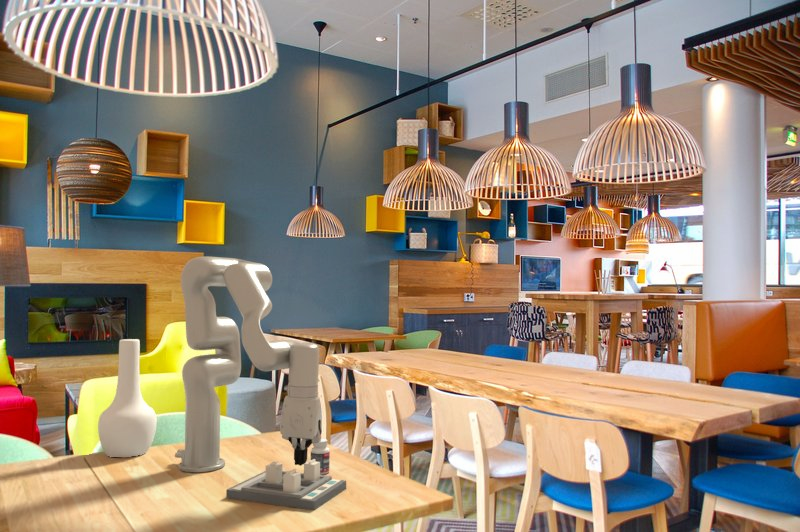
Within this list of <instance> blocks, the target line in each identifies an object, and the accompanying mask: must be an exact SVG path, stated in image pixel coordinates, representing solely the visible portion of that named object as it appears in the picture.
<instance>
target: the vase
mask: <svg viewBox="0 0 800 532" xmlns="http://www.w3.org/2000/svg"><path fill="white" fill-rule="evenodd" d="M140 348H141V344H140V339H138V338H135V339H134V338H133V339H132V338H127V339H126V338H125V339H120V340H119V342H118V371H117V373H118V374H117V385H116V390H115V396H114V398H113V400H112V402H111V403H110V404H109V406H108V407H107V408H106V409H105V410H103V411H102V412H101V414H100V415H99V418H98V421H97V422H98V423H97V431H98V432H97V433H98V437H99V439H98V440H99V442H100V445H101V448H102V450H103V452H104V453H105V455H106V456H107V457H108V456H111V457H130V458H132V457H131V456H136V457H139V456H138V455H140V456H142V455H141V454H143V455H145V454H147V453H148V451H149V450H150V448H151V446H152V444H153V442H154V439H155V435H156V432H157V425H158V422H157V421H158V418H157V414H156V412H155V410H154V408H152V406H149V405H148V404H147V402H146V401H145V400H144V398H143V395H142V392H141V390H142V389H141V380H140V376H141V375H140V356H141V355H140V353H141V349H140ZM146 452H147V453H146ZM144 453H145V454H144ZM111 457H110V458H111Z"/></svg>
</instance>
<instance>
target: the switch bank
mask: <svg viewBox="0 0 800 532" xmlns="http://www.w3.org/2000/svg"><path fill="white" fill-rule="evenodd" d="M289 471H290V470H289ZM289 471H287V470H282V482H281V483H271V482H265V476H266V470H264V471H262V472H260V473H258V474H255V475H254V476H252V477H250V478H248V479H245V480H244V481H241V482H240V483H238V484H235V485H233V486H231V487H229V488H227V489H226V491H225V492H226V493H225V496H226V499H233V500H237V501H245V502H253V503H261V504H267V505H275V506H282V507H289V508H296V509H304V510H310V511H316V510H317V509H318V508H320V507H321V506H323V505H324V504H326V503H327V502H329V501H331V499H333V498H335V497H336V496H338V495H339V494H340V493H342V492H343V491H345V490H347V480H343V479H335V478H333V477H332V476H330V475H325V474H324V475H320V480H319V481H311V480H304V472H301V491H300V492H298V493H292V492H284V491H283V474H285V473H287V472H289Z"/></svg>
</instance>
